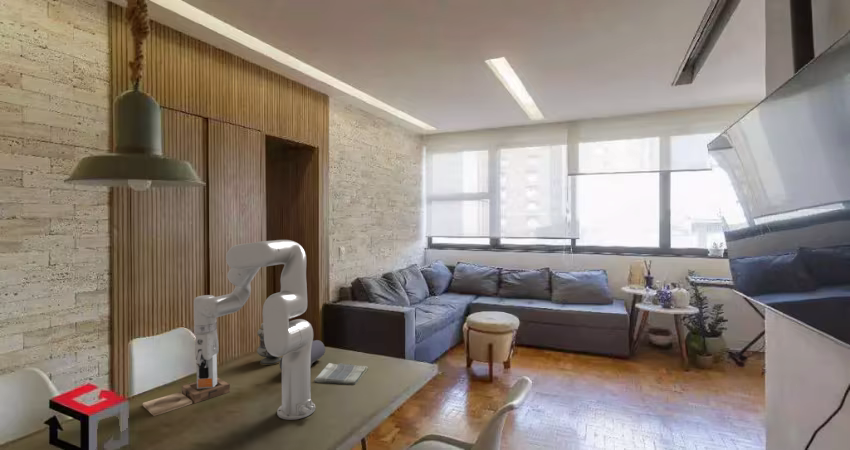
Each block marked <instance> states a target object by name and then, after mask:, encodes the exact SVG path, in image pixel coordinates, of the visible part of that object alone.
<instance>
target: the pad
mask: <svg viewBox="0 0 850 450" xmlns="http://www.w3.org/2000/svg"><path fill="white" fill-rule="evenodd" d="M192 404H193V402H192V401H191V400H190V399H189V398H187V397H186V396H185V395H183V394H182V391H181V392H180V391H178V392H174V393H172V394H168V395H165V396H161V397H158V398H155V399H151V400H148V401H145V402H142V406H143V408H145V409H146V411H148V412H149V413H150V414H151V415H152V416H153V417H156V416H159V415H161V414H165V413H168V412H171V411H174V410H177V409H180V408H184V407H186V406H189V405H192Z"/></svg>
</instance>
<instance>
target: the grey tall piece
mask: <svg viewBox="0 0 850 450" xmlns="http://www.w3.org/2000/svg"><path fill="white" fill-rule="evenodd" d="M256 333H257V336H258V337H259V346H258V348H257V349H256V353H257V354H258V355H259V356H260V357H263V359H261V360H260V362H259V365H264V366H271V365H272V366H273V365H277V364H280V360H281V358H282V356H272V355H271V354H269V352H268V351H267V349H266V347H265V343H264V331H263V322H262V323H261V324H260V328H259V329H258V330H257V331H256Z"/></svg>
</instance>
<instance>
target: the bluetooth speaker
mask: <svg viewBox="0 0 850 450" xmlns="http://www.w3.org/2000/svg"><path fill="white" fill-rule="evenodd" d="M325 353H326V347H325V344H324V342H322V341H321V340H318V339H316V340H315V339H314V340H313V341H312V346H311V366H313V363H315V362H317V361H318V360H319V359H321V358H322V357H323V356H324V355H325ZM282 358H283V356H281V360H280V363H279V369H280V371H282Z"/></svg>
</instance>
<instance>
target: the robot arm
mask: <svg viewBox="0 0 850 450" xmlns="http://www.w3.org/2000/svg"><path fill="white" fill-rule="evenodd" d="M225 261H226V263H227V266H228V267H229V268H230V269H229V270H228V271H227V274H226V277H227V279H228V281H229V282H230V283H231V284H232V285H233V286H235V287H234V289H233V290H232V291H231V292H230V293H226V294H222V295H219V296H218V295H217V296H215V295H213V294H205V295H204V294H203V295H198V296H196V297H194V299H193V321H194V326H193V328H194V335H195V338H194V339H195V341H194V356H195V357H194V358H195V364H197V365H198V368H199V378H200V379H205V378H208V377H209V372H208V367H207V363H208V360H210V359H211V358H212V356H214V355H215V354H217V355H218V354H219V351H220V350H219V349H220V347H219V336H218V329H217V328H218V327H217V326H218V324H217V322H218V321H217V318H219V317H223V316H227V315H230V314H235V313H238V311H240V310H241V309H242V308H243V307H244V306H245V304H246V303H247V301H248V300H249V298H250V296H251V292H252V286H251V283H252V281H253V280H254V278H255V277H256V275H257V273H258V272H259V271H260V270H261V268H265V267H270V266H277V265H284V266H283V268H282V271H281V274H280V291H279V292H276V293H273V294H271V295H269V296H268V297H267V298H266V299H265V301H264V303H263V306H262V323H263V331H264V343H265V347H266V349H267V351H268V352H269V354H271V355H272V356H277V357H281V358H282V357H283V358H282V370H281V405H280V406H279V407H278V408H277V411H276V414H277V416H278V418H280V419H282V420H287V421H288V420H289V421H290V420H291V421H292V420H293V421H295V420H299V419H300V420H301V419H304V418H306V417H309V416H310V415H312V414H313V413H314V412H315V411H316V404H315V402H313V401H312V399H311V391H312V389H311V387H312V386H311V384H312V383H311V382H312V380H311V378H312V377H311V375H312V374H311V366H312V365H311V346H312V341H314V329H313V326H312V324H311V323H310V322H309V321H307V320H306V319H303V318H297V319H293V318H296V317H299V316H301V315H303V314H304V313H305V312H306V311H307V309H308V288H307V286H308V284H307V254H306V251H305V249H304V248H303V246H302V245H301V244H300V243H298V242H296V241H294V240H290V239H276V240H275V239H274V240H263V241H256V242H250V243H249V242H248V243H239V244H235V245H232V246H231V247H230V248H229V249H228V250H227V252H226V255H225ZM291 319H293V320H291ZM202 358H204V359H202ZM196 360H197V361H196ZM202 361H205V364H204V362H202ZM197 365H196V366H197Z"/></svg>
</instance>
